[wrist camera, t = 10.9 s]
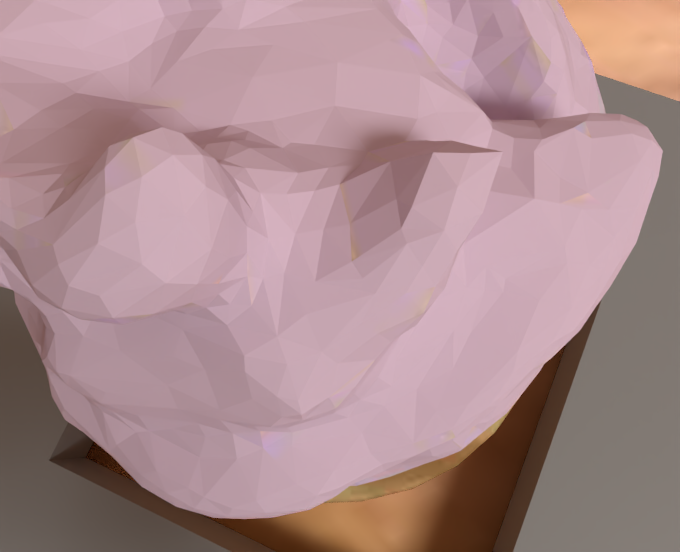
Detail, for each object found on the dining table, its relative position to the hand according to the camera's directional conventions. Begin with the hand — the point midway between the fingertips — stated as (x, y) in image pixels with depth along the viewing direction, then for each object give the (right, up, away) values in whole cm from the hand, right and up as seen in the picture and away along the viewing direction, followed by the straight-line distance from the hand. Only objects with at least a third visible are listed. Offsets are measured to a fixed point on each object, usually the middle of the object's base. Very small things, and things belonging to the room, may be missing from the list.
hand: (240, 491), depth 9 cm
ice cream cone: (+1, +1, +9) cm, 9 cm away
